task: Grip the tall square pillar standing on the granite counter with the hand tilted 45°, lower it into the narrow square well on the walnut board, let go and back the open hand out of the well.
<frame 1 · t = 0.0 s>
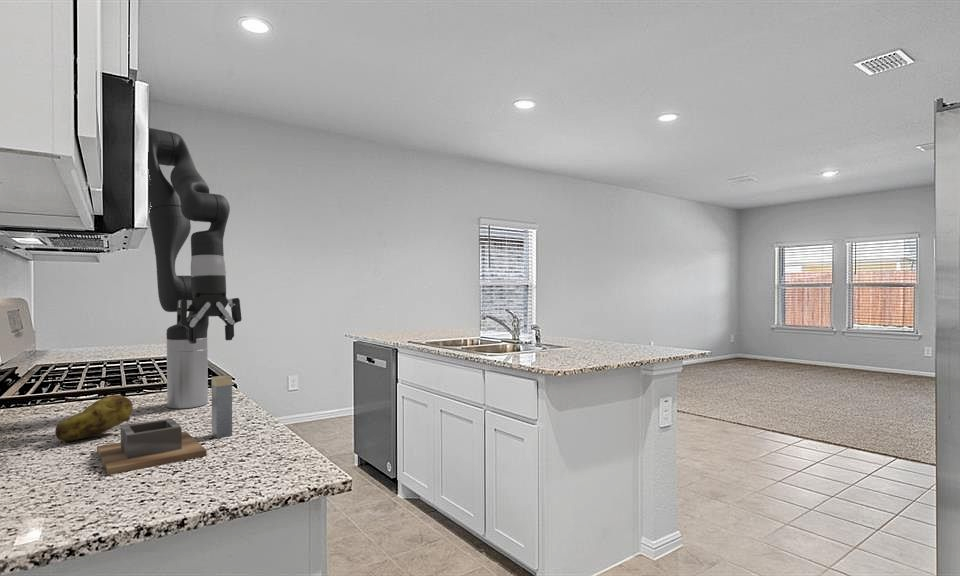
hand: (211, 341, 131), 17 cm above the counter, tool pointing down, fingers open, 8 cm apart
well board: (151, 453, 100), on the counter
potato: (95, 437, 111), on the counter
tall square pillar: (222, 434, 112), on the counter
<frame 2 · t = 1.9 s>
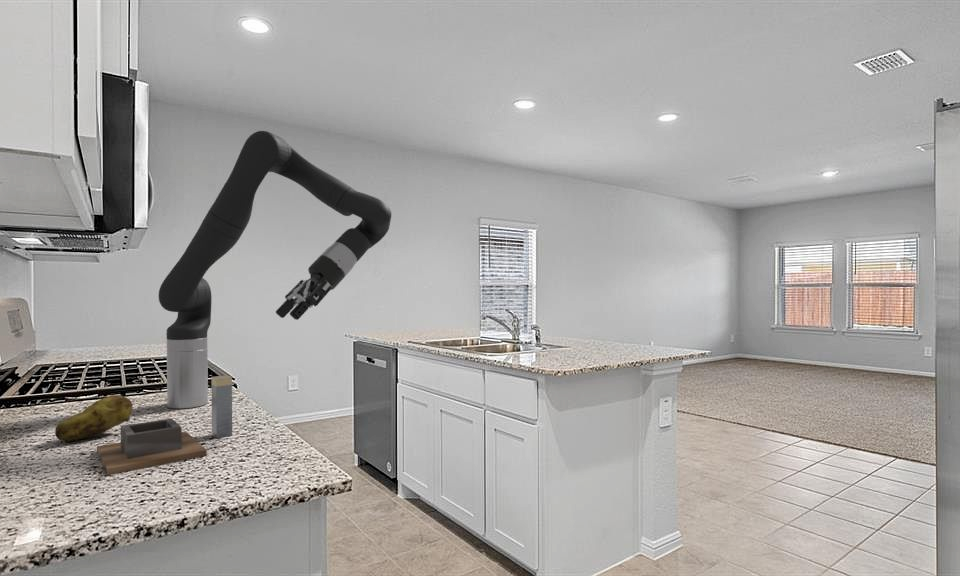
hand: (285, 316, 121), 24 cm above the counter, tool tilted 45°, fingers open, 8 cm apart
nothing on the counter moved.
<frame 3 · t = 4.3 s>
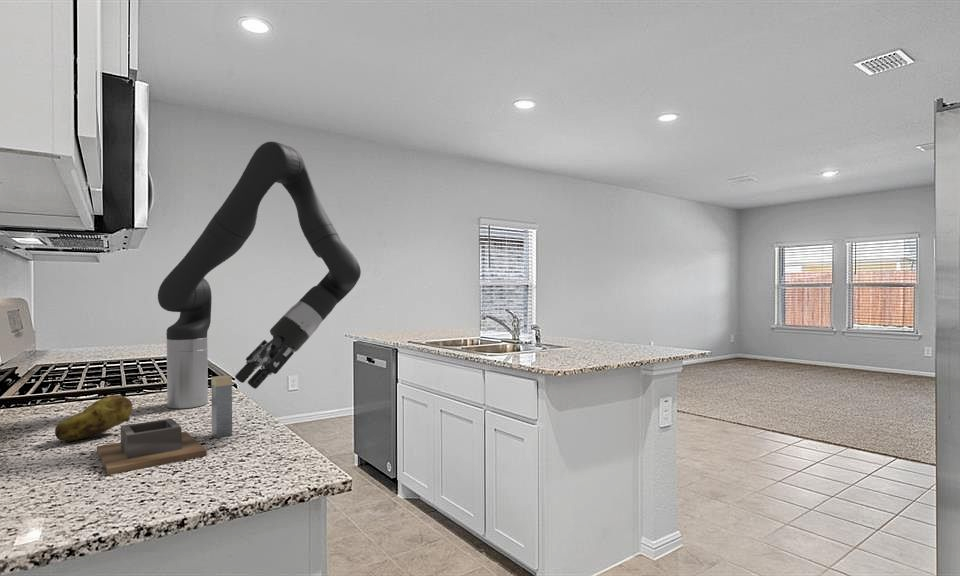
hand: (244, 383, 115), 10 cm above the counter, tool tilted 45°, fingers open, 8 cm apart
nothing on the counter moved.
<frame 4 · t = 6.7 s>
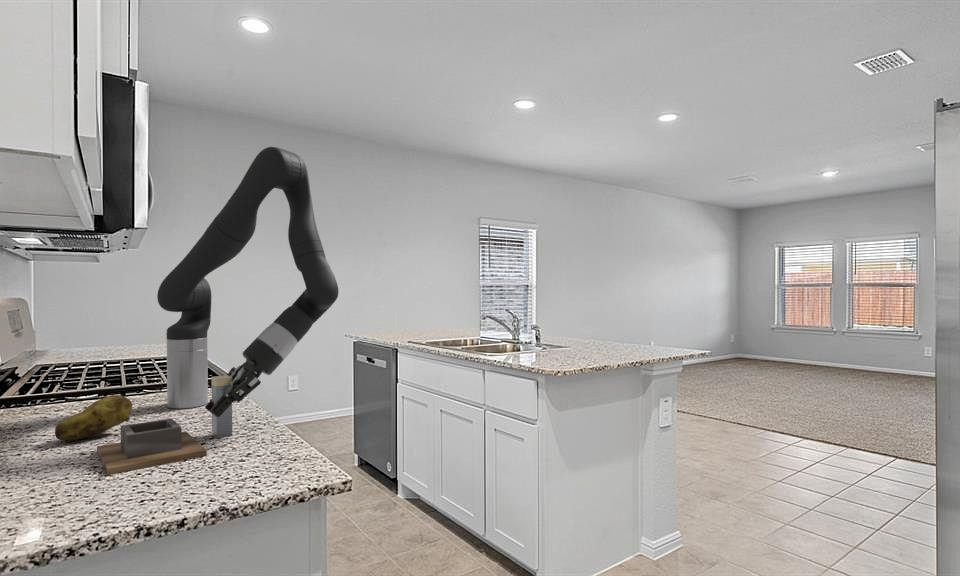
hand: (211, 412, 111), 5 cm above the counter, tool tilted 45°, fingers closed on tall square pillar, 3 cm apart
tall square pillar: (222, 434, 112), on the counter, touching gripper
everything else where it was.
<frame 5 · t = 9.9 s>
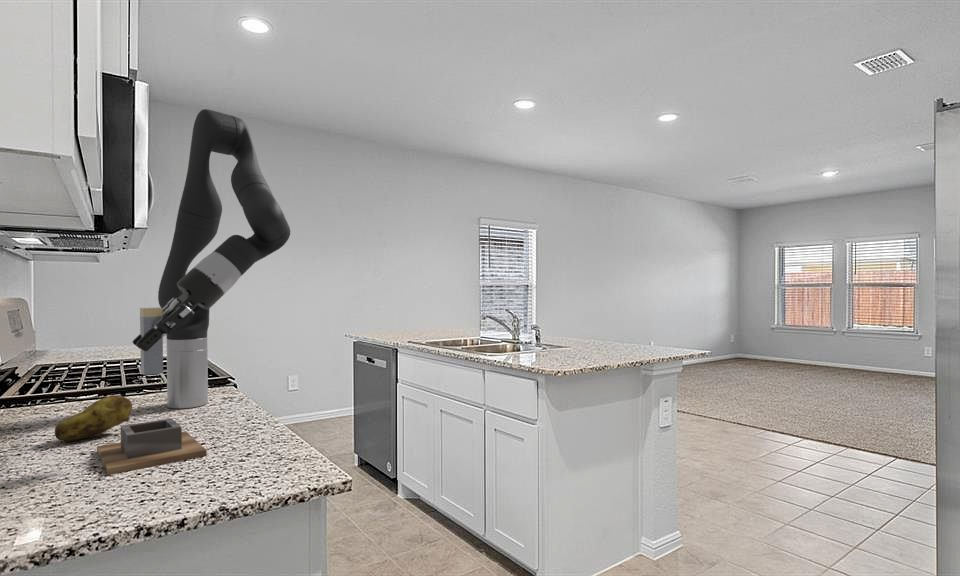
hand: (138, 346, 99), 20 cm above the counter, tool tilted 45°, fingers closed on tall square pillar, 3 cm apart
tall square pillar: (151, 372, 100), point 15 cm above the counter, touching gripper
everything else where it was.
when the fingers open (7 cm above the counter, at t = 13.2 s): tall square pillar drops 1 cm, resting on well board.
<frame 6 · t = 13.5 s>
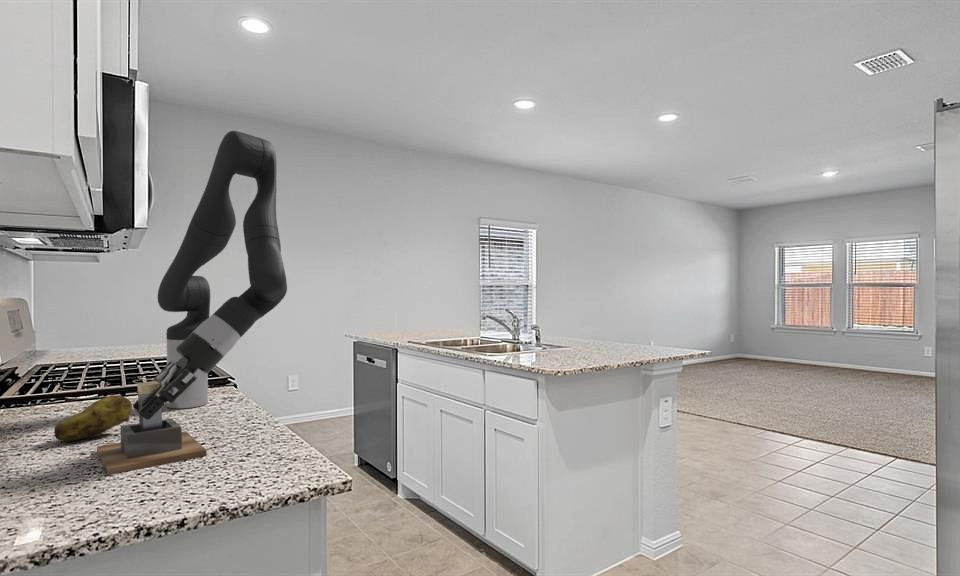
hand: (139, 413, 99), 8 cm above the counter, tool tilted 45°, fingers open, 6 cm apart
tall square pillar: (151, 447, 100), point 1 cm above the counter, touching well board
everything else where it was.
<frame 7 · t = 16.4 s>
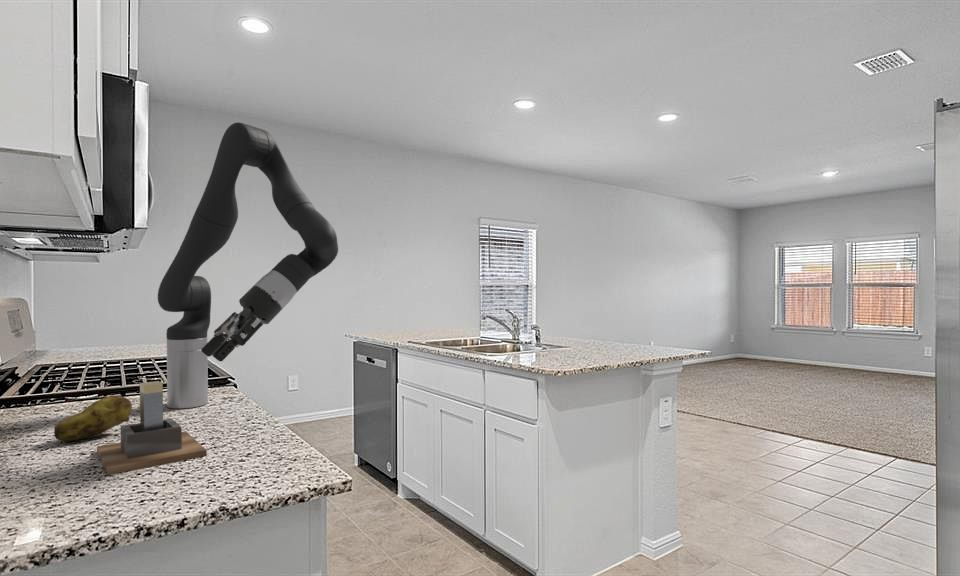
hand: (210, 356, 106), 17 cm above the counter, tool tilted 45°, fingers open, 8 cm apart
nothing on the counter moved.
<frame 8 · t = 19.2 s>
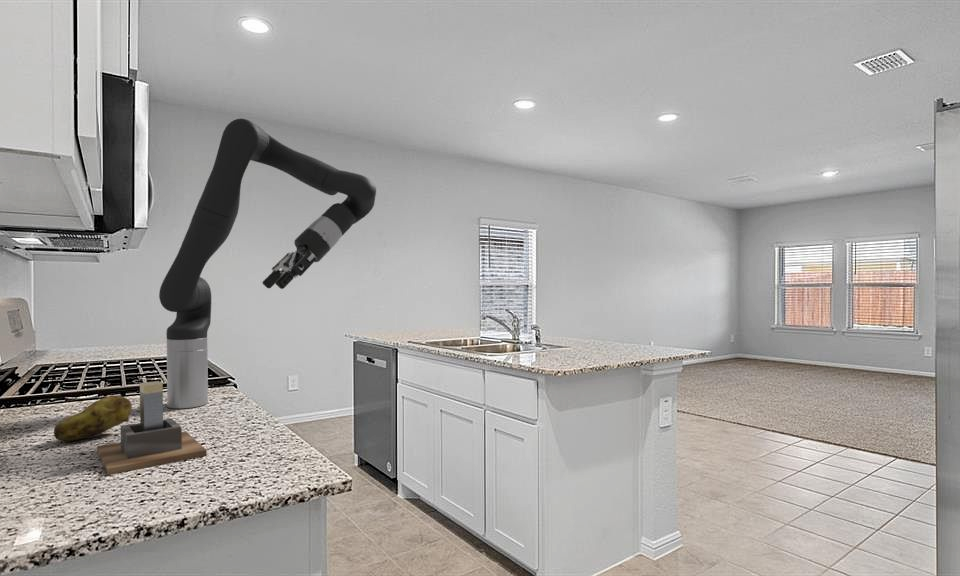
hand: (271, 286, 125), 31 cm above the counter, tool tilted 45°, fingers open, 8 cm apart
nothing on the counter moved.
at the end: tall square pillar 0.1 cm off-centre on the well board, point 1.0 cm above the well board's base; tall square pillar tilted 0°; the gripper is holding nothing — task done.
